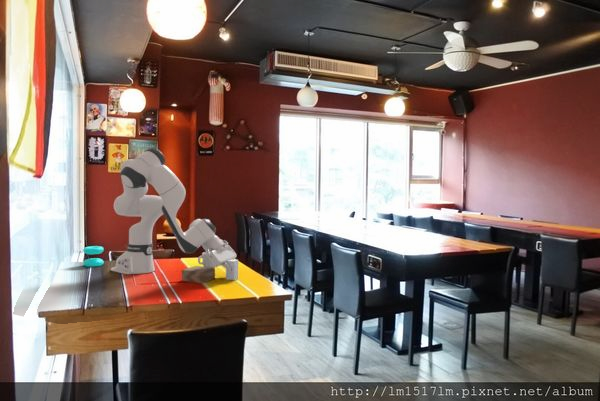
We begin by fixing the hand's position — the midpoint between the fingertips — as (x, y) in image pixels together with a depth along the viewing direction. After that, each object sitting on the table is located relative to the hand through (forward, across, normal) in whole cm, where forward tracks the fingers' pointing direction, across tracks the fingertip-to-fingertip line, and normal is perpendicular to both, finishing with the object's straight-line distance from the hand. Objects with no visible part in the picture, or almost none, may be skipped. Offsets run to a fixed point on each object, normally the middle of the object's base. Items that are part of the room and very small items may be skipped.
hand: (233, 268), depth 220 cm
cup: (-13, +20, +20) cm, 31 cm away
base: (-7, -7, +14) cm, 17 cm away
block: (+3, 0, +4) cm, 5 cm away
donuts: (-55, +4, +62) cm, 83 cm away
